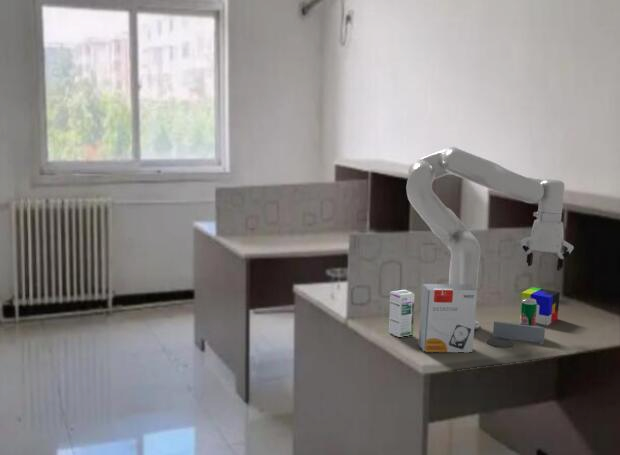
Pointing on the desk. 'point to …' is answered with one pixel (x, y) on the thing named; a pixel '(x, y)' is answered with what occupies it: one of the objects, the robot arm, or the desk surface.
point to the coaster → (499, 342)
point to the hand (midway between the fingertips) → (544, 267)
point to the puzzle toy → (544, 304)
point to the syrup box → (401, 312)
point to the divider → (519, 332)
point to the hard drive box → (447, 317)
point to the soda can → (528, 312)
